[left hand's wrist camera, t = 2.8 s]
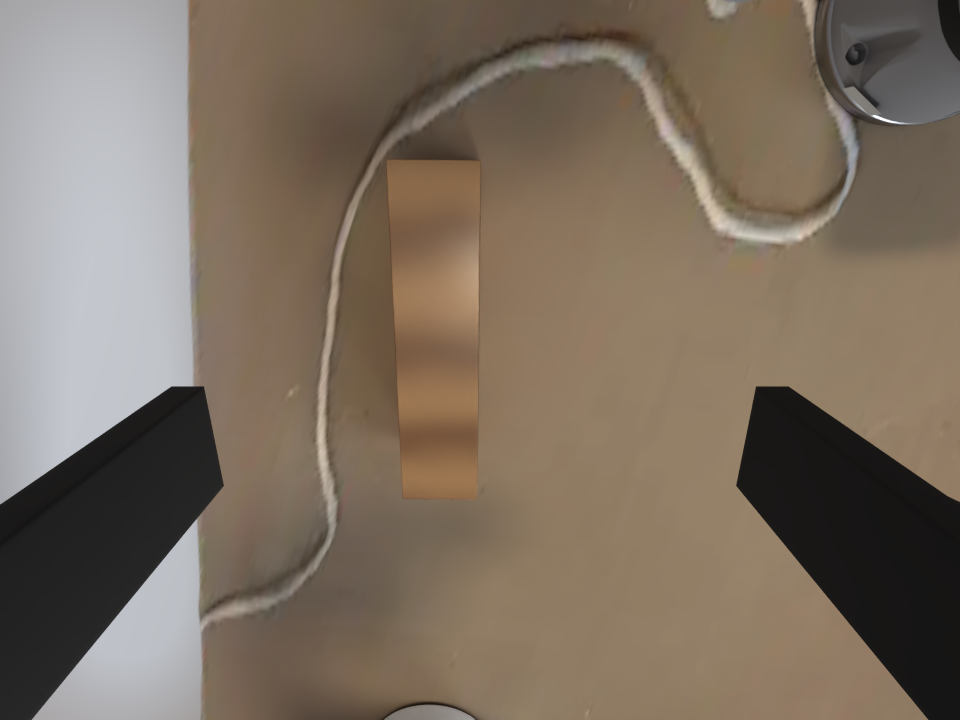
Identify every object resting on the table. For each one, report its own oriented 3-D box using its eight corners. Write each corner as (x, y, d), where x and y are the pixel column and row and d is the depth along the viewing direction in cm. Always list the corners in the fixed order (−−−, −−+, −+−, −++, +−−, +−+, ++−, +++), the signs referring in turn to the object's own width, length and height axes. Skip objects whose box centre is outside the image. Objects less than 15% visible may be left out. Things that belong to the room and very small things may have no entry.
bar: (405, 162, 41) (385, 159, 32) (481, 163, 41) (480, 160, 32) (416, 443, 49) (402, 499, 41) (478, 443, 49) (477, 499, 41)
